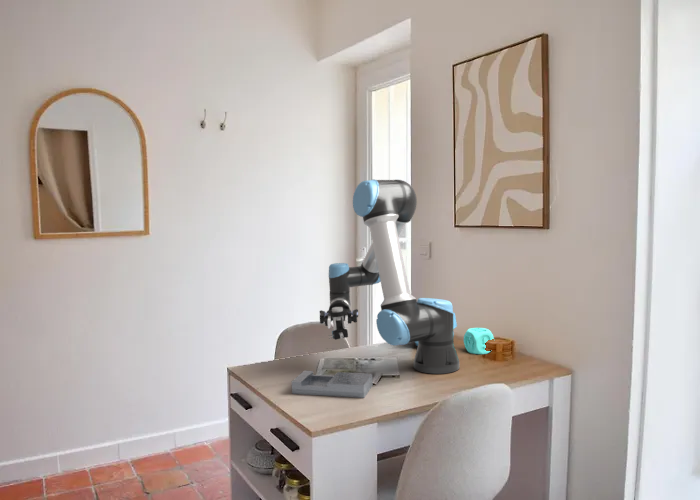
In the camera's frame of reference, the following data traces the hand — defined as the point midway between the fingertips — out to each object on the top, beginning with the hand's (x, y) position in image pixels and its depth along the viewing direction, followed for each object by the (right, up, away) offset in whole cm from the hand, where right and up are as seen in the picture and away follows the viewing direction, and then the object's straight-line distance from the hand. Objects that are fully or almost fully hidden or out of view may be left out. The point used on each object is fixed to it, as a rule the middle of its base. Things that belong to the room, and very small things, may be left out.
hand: (337, 323), depth 176 cm
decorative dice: (+51, -14, +28) cm, 60 cm away
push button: (0, -6, +6) cm, 8 cm away
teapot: (+36, -14, +37) cm, 54 cm away
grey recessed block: (-1, -19, -8) cm, 20 cm away
